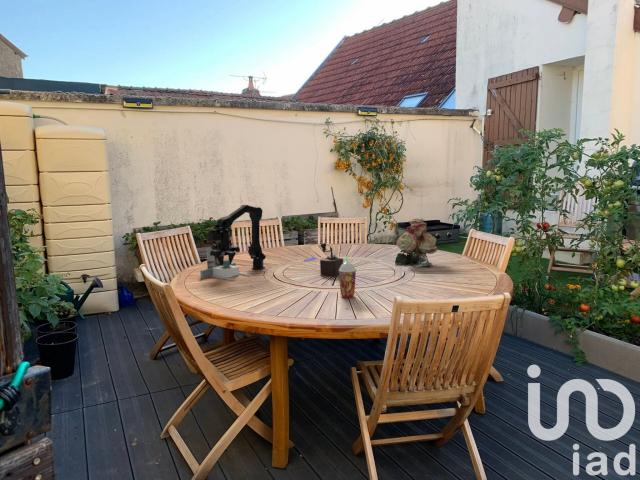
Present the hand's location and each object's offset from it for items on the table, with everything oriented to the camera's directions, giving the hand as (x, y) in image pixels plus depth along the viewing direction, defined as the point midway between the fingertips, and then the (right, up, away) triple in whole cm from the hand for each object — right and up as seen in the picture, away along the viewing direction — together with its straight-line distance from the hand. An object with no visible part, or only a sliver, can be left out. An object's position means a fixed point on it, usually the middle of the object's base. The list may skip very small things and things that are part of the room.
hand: (226, 265), depth 263 cm
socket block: (0, -6, +1) cm, 6 cm away
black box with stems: (+62, -6, +1) cm, 62 cm away
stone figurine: (+120, -1, +25) cm, 123 cm away
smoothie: (+70, -13, -48) cm, 86 cm away
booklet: (+58, 0, +40) cm, 71 cm away
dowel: (0, -5, +1) cm, 5 cm away
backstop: (+2, -7, -1) cm, 7 cm away
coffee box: (-10, -5, +14) cm, 18 cm away
